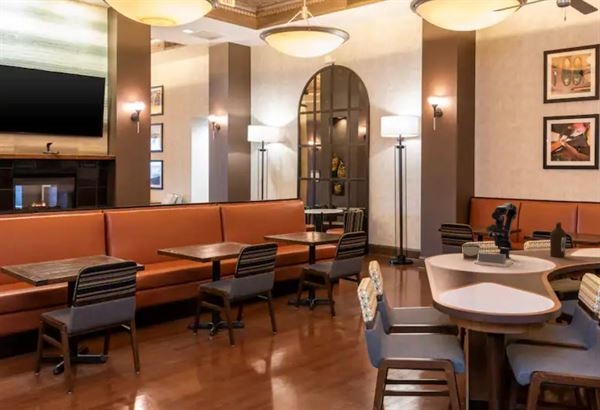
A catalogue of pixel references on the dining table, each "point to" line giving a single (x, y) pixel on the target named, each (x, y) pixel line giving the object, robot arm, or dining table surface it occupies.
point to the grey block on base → (493, 259)
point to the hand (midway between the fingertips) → (496, 245)
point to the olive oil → (557, 241)
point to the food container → (470, 251)
